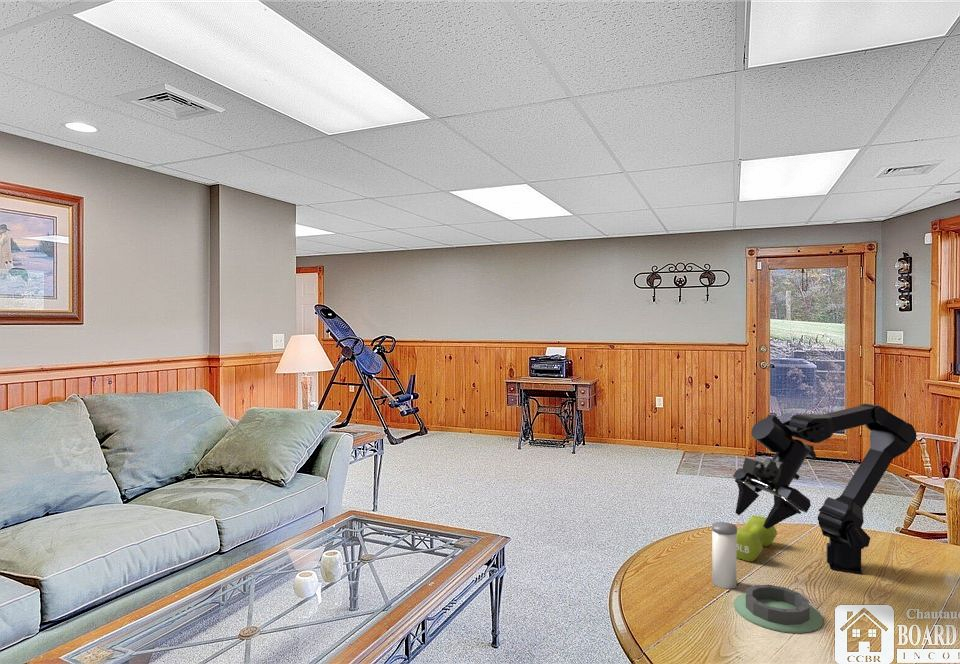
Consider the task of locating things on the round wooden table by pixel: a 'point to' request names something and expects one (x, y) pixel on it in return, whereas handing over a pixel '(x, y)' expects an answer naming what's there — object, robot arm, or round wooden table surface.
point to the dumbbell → (754, 538)
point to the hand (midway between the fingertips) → (750, 520)
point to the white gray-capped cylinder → (724, 555)
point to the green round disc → (778, 609)
